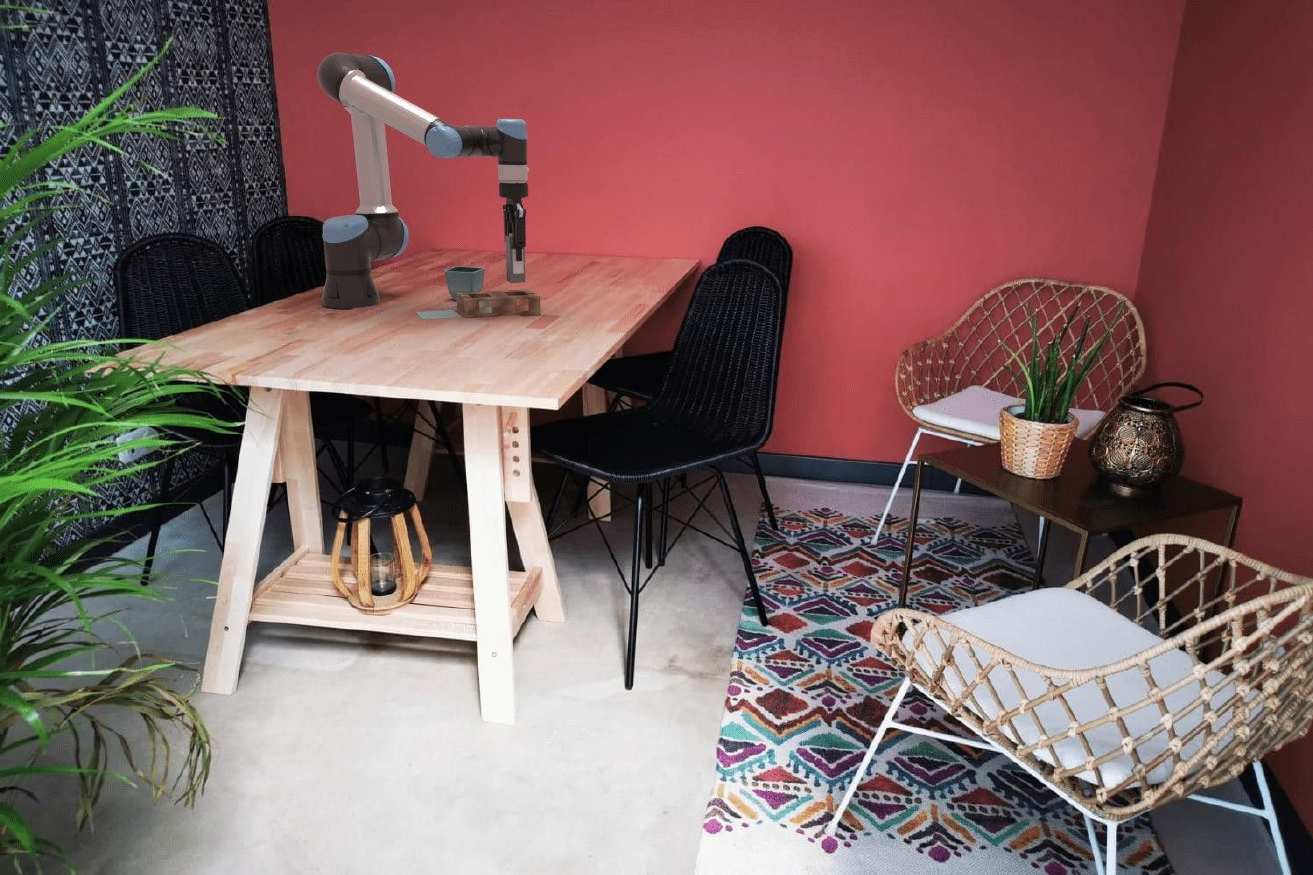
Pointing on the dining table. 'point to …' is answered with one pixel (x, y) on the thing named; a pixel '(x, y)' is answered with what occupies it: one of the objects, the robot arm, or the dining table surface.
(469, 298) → the socket block
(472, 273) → the flower pot
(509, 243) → the plug
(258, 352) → the dining table surface
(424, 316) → the mat
